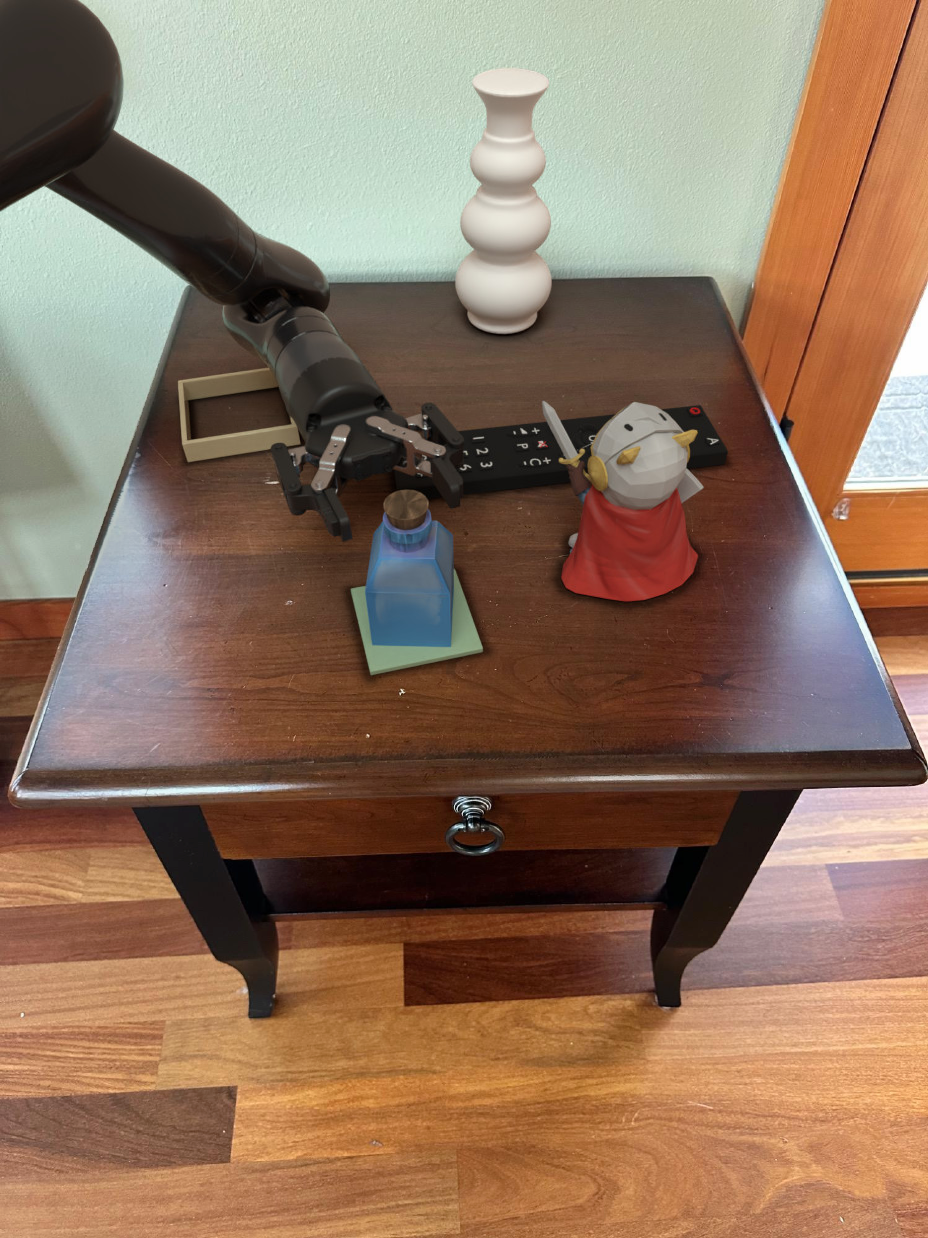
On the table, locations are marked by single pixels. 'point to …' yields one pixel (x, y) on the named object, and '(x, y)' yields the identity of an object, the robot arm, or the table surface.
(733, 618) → the table surface
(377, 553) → the perfume bottle
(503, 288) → the vase
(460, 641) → the mat
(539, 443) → the remote control
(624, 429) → the figurine
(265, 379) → the holder
